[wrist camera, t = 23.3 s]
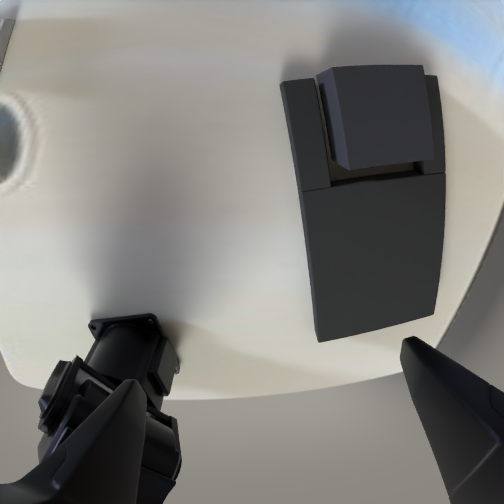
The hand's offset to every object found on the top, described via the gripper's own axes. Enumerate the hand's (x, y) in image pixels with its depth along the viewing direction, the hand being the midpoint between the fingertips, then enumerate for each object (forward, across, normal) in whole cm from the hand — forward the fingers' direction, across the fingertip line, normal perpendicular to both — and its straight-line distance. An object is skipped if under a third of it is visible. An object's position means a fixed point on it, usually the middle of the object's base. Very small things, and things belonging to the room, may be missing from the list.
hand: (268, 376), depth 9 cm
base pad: (+12, -8, 0) cm, 14 cm away
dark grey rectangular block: (+12, -8, -7) cm, 16 cm away
